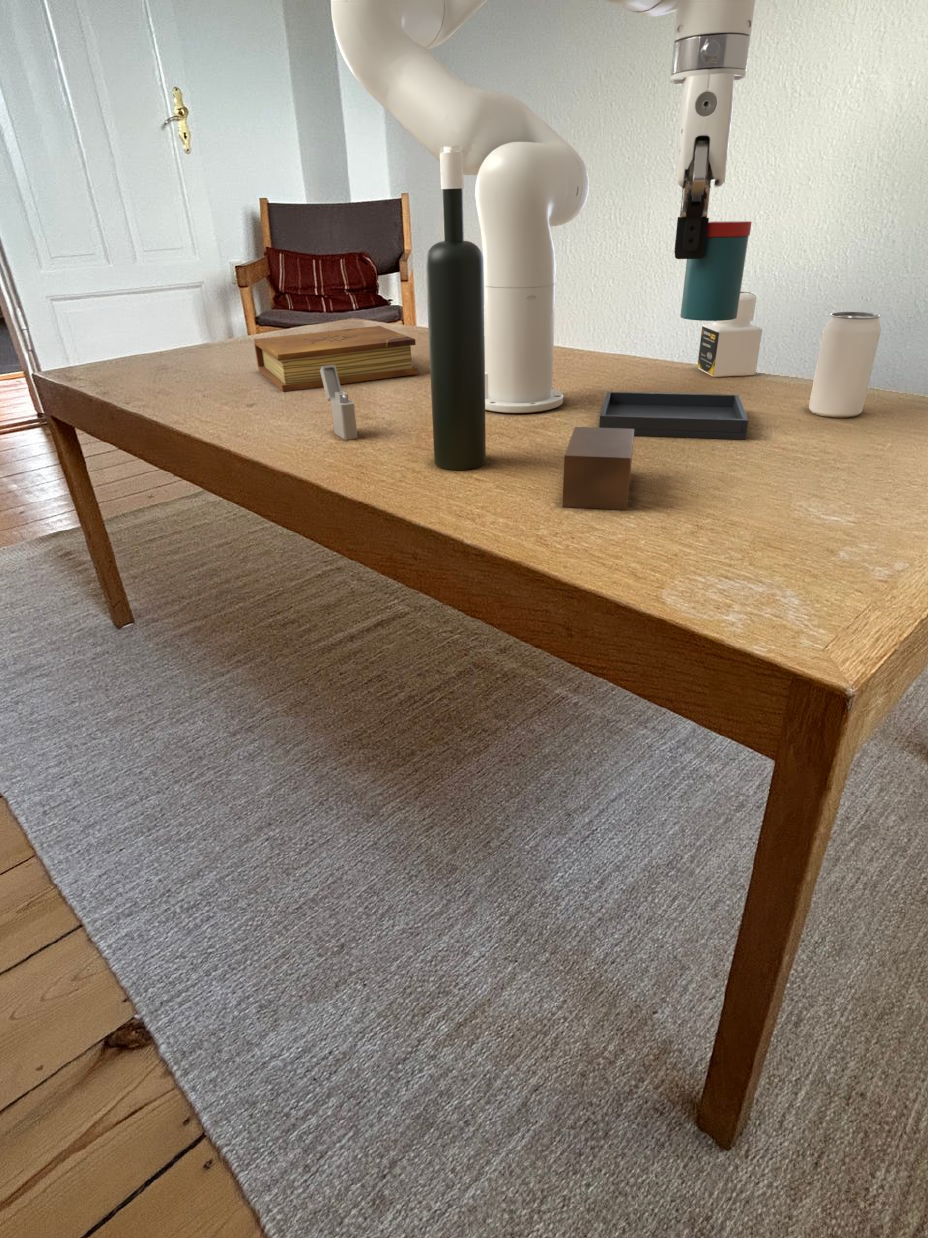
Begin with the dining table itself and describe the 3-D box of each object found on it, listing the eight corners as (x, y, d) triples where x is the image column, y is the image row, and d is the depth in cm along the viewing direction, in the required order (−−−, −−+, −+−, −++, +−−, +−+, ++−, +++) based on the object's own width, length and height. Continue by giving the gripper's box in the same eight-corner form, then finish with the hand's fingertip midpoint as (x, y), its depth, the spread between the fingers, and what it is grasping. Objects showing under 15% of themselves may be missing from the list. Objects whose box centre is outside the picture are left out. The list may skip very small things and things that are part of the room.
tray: (598, 434, 92) (599, 415, 91) (605, 408, 104) (606, 391, 102) (745, 439, 89) (748, 420, 88) (736, 412, 100) (738, 394, 99)
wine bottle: (436, 454, 87) (422, 149, 72) (486, 454, 86) (482, 147, 72) (432, 470, 82) (417, 145, 67) (485, 470, 81) (481, 143, 67)
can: (867, 419, 95) (891, 318, 89) (812, 417, 96) (832, 318, 91) (854, 406, 101) (876, 311, 95) (803, 405, 102) (821, 311, 96)
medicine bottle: (696, 368, 125) (705, 290, 119) (737, 366, 126) (749, 288, 120) (712, 377, 119) (723, 295, 113) (756, 375, 119) (768, 293, 114)
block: (562, 506, 71) (564, 455, 69) (572, 473, 80) (575, 426, 77) (626, 510, 70) (630, 458, 68) (630, 476, 78) (634, 428, 76)
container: (640, 272, 85) (727, 187, 80) (642, 268, 91) (723, 188, 85) (705, 349, 87) (794, 272, 82) (703, 340, 93) (786, 268, 87)
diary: (380, 357, 141) (378, 325, 139) (417, 375, 127) (415, 338, 124) (258, 371, 133) (253, 336, 130) (282, 391, 118) (277, 353, 116)
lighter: (358, 437, 94) (351, 371, 90) (344, 439, 93) (337, 373, 89) (338, 425, 99) (332, 362, 96) (326, 427, 99) (319, 364, 95)
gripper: (755, 46, 69) (727, 261, 78) (740, 71, 84) (718, 251, 93) (672, 52, 71) (653, 262, 80) (671, 76, 86) (656, 252, 94)
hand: (688, 254), depth 86 cm, fingers closed on container, 5 cm apart
